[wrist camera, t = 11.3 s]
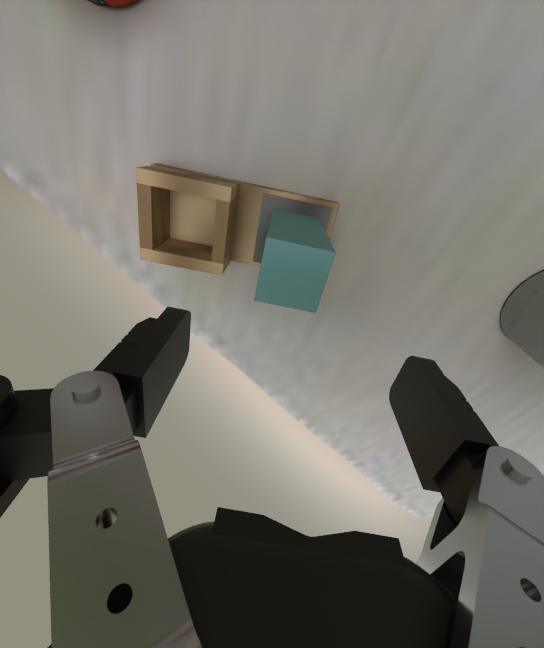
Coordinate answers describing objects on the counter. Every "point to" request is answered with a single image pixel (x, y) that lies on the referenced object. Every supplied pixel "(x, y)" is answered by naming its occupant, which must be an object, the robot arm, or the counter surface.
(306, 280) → the teal block
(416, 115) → the counter surface
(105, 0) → the canned food
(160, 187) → the holder
